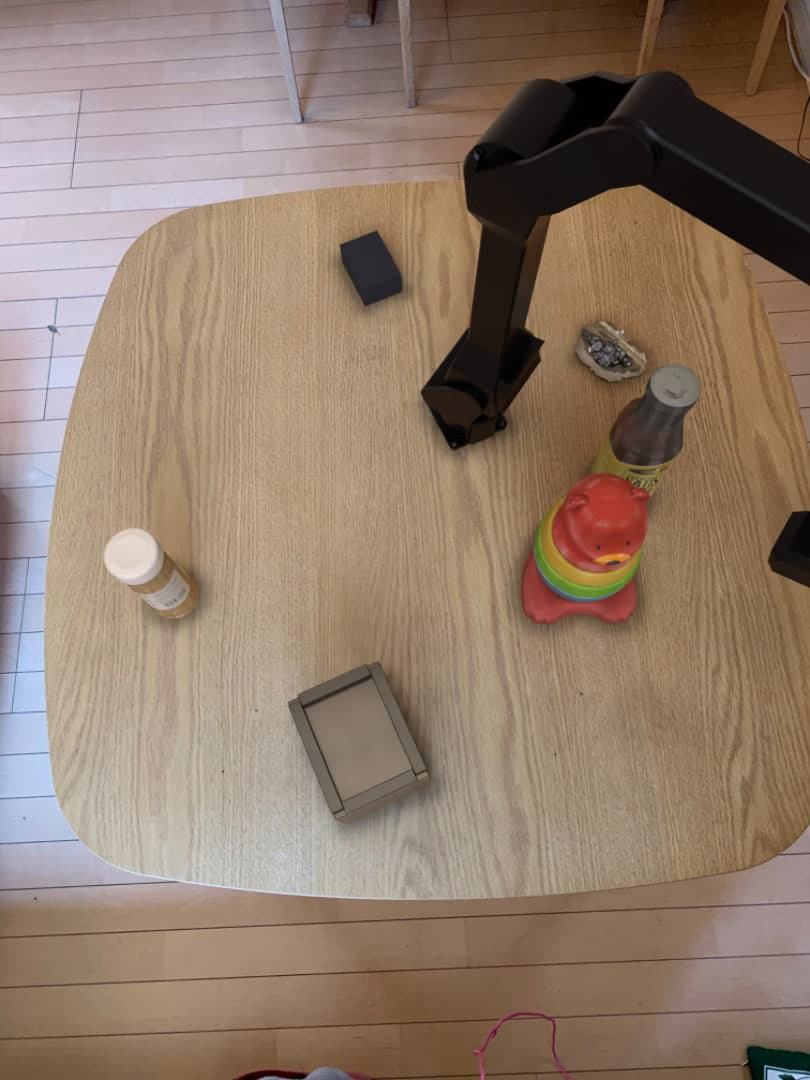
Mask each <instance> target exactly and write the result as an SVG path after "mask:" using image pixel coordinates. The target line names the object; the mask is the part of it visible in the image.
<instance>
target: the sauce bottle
mask: <svg viewBox="0 0 810 1080" xmlns="http://www.w3.org/2000/svg"><path fill="white" fill-rule="evenodd" d="M701 388H702V387H701V380H700V379H699V377H698V375H697V373H695V372H694V371H693V370H692V369H691V368H689V367H687V366H686V365H681V363H666V364H663V365H660V366H659V367H658V368H655V370H654V371H653V372H652V373H651V375H650V377H649V379H648V381H647V383H646V385H645V392H644V394H643V395H642V396H641V397H636V398H634V399H632V400H630V401H629V402H628V403H627V404H625V406H624V407H623V408H622V409H621V410H620V411H619V413H618V415H617V417H616V418H615V421H614V422H613V423H612V425H611V427H610V428H609V431H608V433H607V436H606V438H605V439H604V441H603V444H602V446H601V448H600V450H599V452H598V455H597V456H596V459H595V461H594V462H593V465H592V467H591V468H590V471H589V475H588V476H590V475H593V474H598V473H609V474H614V475H617V476H620V477H622V478H624V479H626V480H628V481H629V482H631V483H632V484H633V485H634V486H635V487H640V488H644V489H646V490H647V491H648V492H649V494H650V498H651V497H652V496H653V495H654V493H655V491H656V490H657V488H658V486H659V485H660V484H661V482H662V480H663V479H664V477H665V476H666V474H667V473H668V471H669V470H670V468H671V467H672V465H674V462H675V461H676V459H677V458H678V456H679V454H680V453H681V451H682V450H683V446H684V420H685V418H686V415H687V414H688V412H690V411H691V410H692V409H693V408H694V407H695V405H696V403H697V401H698V399H699V398H700V396H701V391H702V389H701Z"/></svg>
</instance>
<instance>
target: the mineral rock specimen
mask: <svg viewBox="0 0 810 1080" xmlns="http://www.w3.org/2000/svg"><path fill="white" fill-rule="evenodd" d="M623 334H625V330H624V329H621V330H619V328H618V327H617V326H616V325H615V323H612V322H611V321H610V320H609V321H607V320H605V321H604V320H601V321H598V322H595V323H593V324H590V325H583V326H582V328H581V333H579V334H578V339H579V340H578V341H579V343H575V344H574V346H571V348H572V349H573V350H572V352H573V353H576V354H577V357H578V359H579V360H580V361H581V362H582V363H583V364H584V365H585V366H589V368H590V369H589V370H590V371H594V374H595V376H596V377H598V378H603V379H604V380H606V381H607V382H608V383H612V382H621V381H622V379H626V380H627V379H628V378H633V377H639V376H641V375H643V374H644V373H645V372H646V371H645V370H647V367H646V366H647V365H648V361H647V359H646V355H645V353H644V352H643V353H642V352H641V350H638V347H637V346H633V345H630V343H628V341H631V338H627V337H626V336H625V335H623Z"/></svg>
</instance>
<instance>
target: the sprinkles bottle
mask: <svg viewBox="0 0 810 1080" xmlns="http://www.w3.org/2000/svg"><path fill="white" fill-rule="evenodd" d="M103 562H104V565H105V567H106V569H107V571H108V572H109V573H110V574H111V575H112V576H113V577H114V578H115V579H117V581H119V582H121V583H123V584H125V585H127V586H128V587H129V589H130V590H132V591H133V592H134V593H135V594H137V595H138V596H139V597H140V598H141V599H142V600H143V601H144V602H146V603H147V604H148V605H149V606H151V607H152V608H154V609H155V611H156V612H157V613H158V615H160V616H161V617H162V618H166V619H169V620H175V619H182V618H183V617H186V616H187V615H188V614H191V612H193V611H194V609H195V608H196V607H197V604H198V601H199V595H200V591H199V587H198V585H197V583H196V582H195V581H194V580H193V578H192V577H190V576H188V575H187V572H186V571H185V570H184V568H182V567H181V566H180V565H179V563H177V561H176V560H174V559H173V558H172V557H171V556H170V555H169V554H168V553H167V552H166V551H165V550H164V548H163V546H162V544H161V543H160V541H159V540H158V539H157V537H155V536H154V535H153V534H152V533H151V532H149V531H148V530H146V529H143V528H141V527H128V528H125V529H122V530H120V531H118V532H116V533H115V534H114V535H112V537H111V538H110V539H109V540H108V542H107V543H106V546H105V548H104V552H103Z"/></svg>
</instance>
